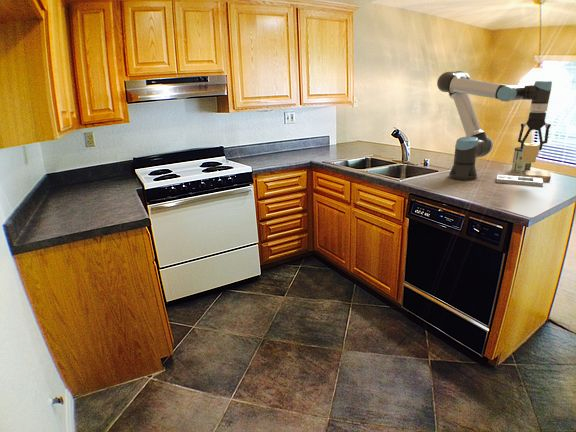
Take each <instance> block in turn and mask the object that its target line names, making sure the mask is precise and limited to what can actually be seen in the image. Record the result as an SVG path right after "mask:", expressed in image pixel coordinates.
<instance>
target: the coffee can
mask: <svg viewBox="0 0 576 432" xmlns="http://www.w3.org/2000/svg"><path fill="white" fill-rule="evenodd" d="M520 147H521V146H519V147H518V146H517V147H514V151H513V159H512V163H511V164H512V165H511V170H510V171H511V172H513V173H522V174H525V170H530V171H531V167H532V162H522V157H523V156H522V150H523V149H520Z"/></svg>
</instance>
